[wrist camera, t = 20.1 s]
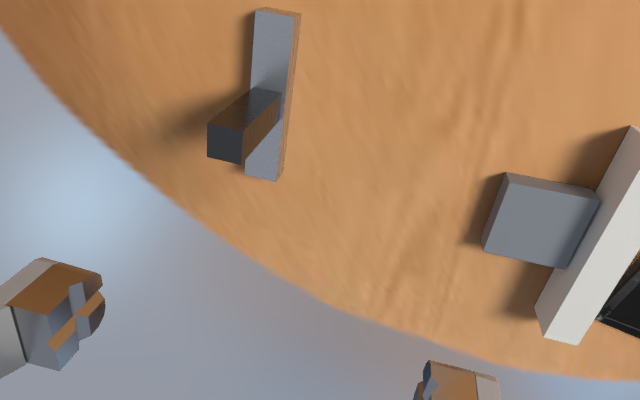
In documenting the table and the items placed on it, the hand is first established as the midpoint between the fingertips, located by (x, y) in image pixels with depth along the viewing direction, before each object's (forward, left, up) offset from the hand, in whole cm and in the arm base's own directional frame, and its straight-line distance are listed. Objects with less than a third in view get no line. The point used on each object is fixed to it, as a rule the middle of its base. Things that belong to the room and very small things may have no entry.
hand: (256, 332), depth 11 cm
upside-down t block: (+4, -8, -29) cm, 31 cm away
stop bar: (+10, +22, -29) cm, 38 cm away
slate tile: (+10, +16, -30) cm, 35 cm away
